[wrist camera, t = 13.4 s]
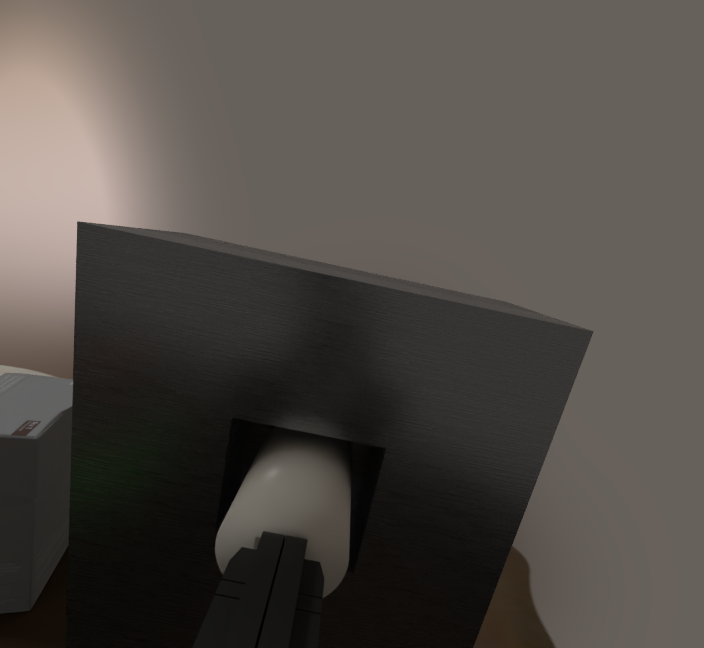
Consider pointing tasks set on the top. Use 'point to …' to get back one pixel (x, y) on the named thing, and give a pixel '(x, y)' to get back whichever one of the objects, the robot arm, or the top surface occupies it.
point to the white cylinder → (295, 501)
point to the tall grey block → (302, 415)
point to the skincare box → (33, 484)
